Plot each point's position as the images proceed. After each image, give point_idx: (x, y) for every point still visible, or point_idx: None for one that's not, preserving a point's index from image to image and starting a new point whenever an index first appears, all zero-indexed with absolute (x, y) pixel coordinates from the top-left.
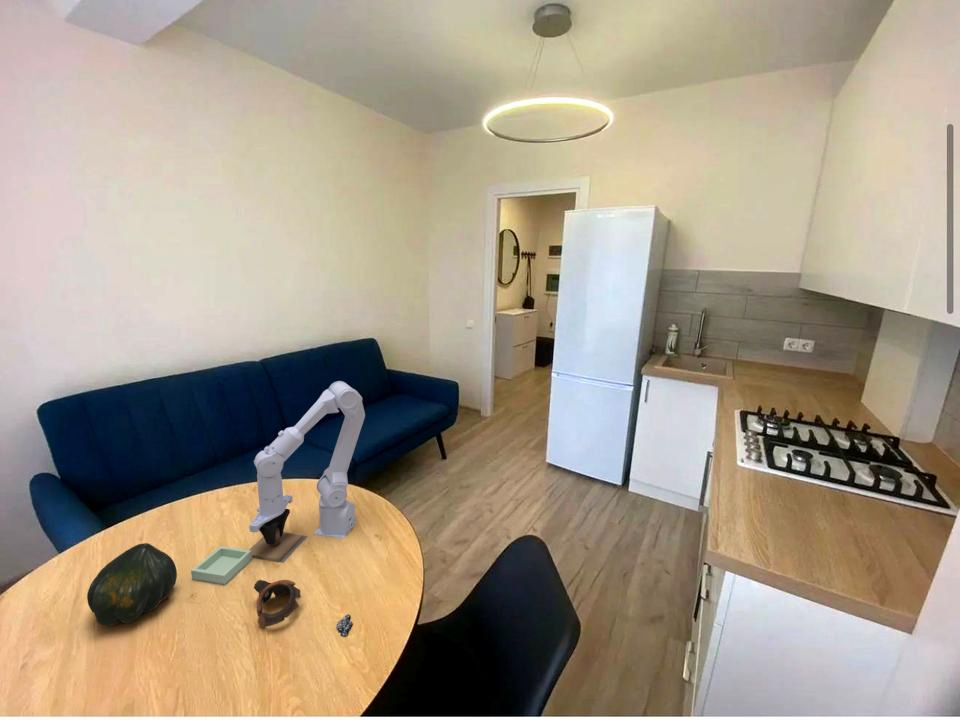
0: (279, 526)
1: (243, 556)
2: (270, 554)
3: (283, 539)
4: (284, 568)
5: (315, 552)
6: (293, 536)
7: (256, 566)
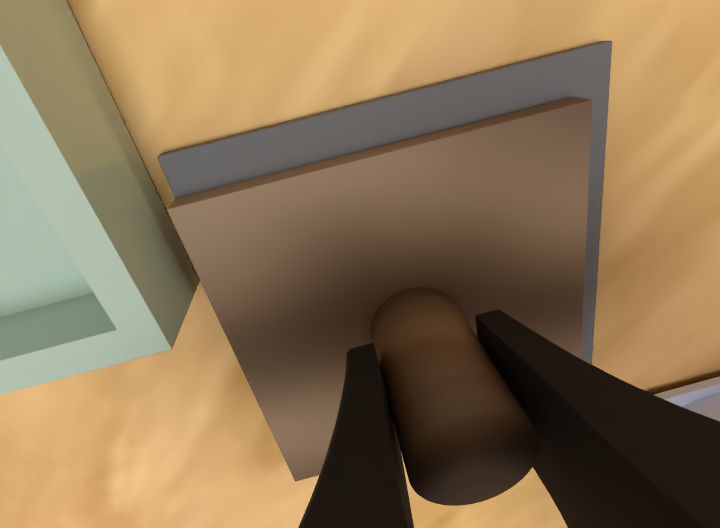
0: (550, 472)
1: (56, 360)
2: (299, 400)
3: None
4: (279, 494)
5: (462, 510)
6: None
7: (180, 358)
